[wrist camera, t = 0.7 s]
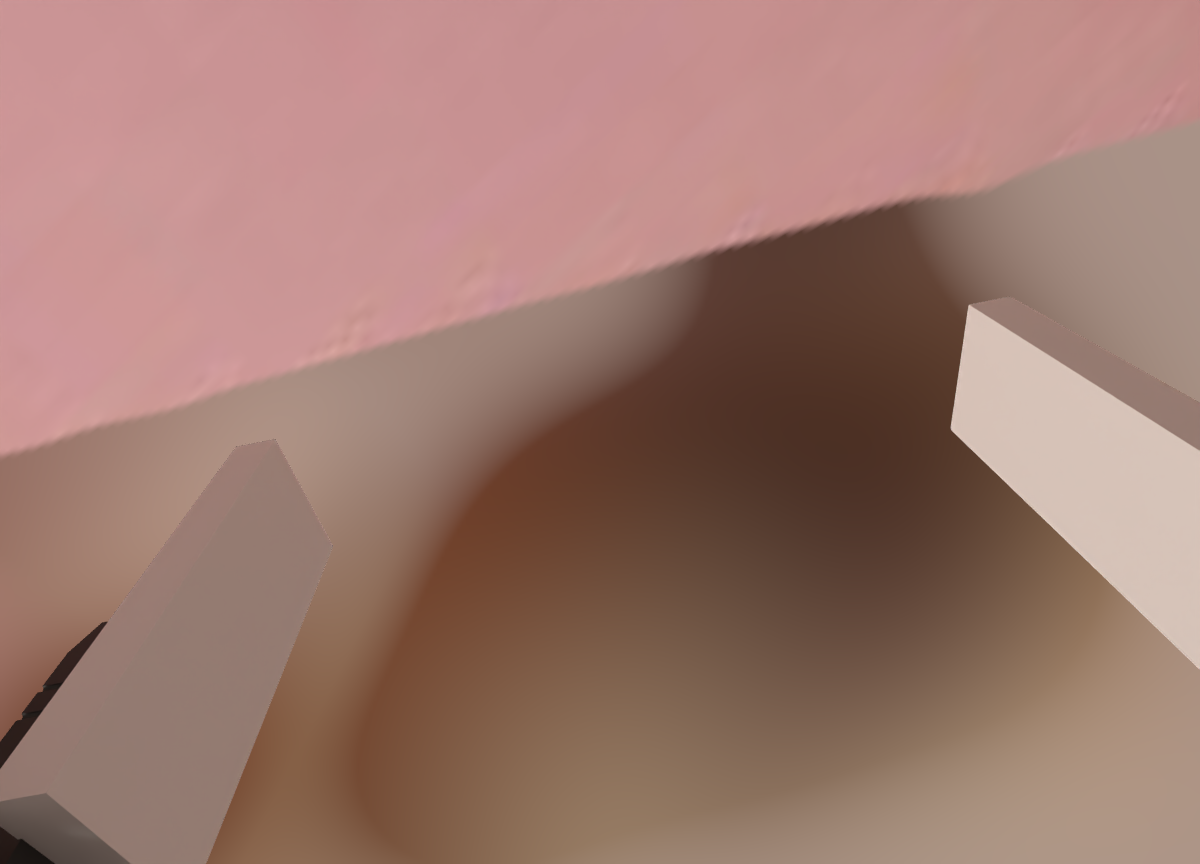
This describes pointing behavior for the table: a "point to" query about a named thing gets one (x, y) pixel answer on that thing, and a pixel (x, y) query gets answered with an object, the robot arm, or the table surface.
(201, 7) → the table surface
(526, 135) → the table surface
